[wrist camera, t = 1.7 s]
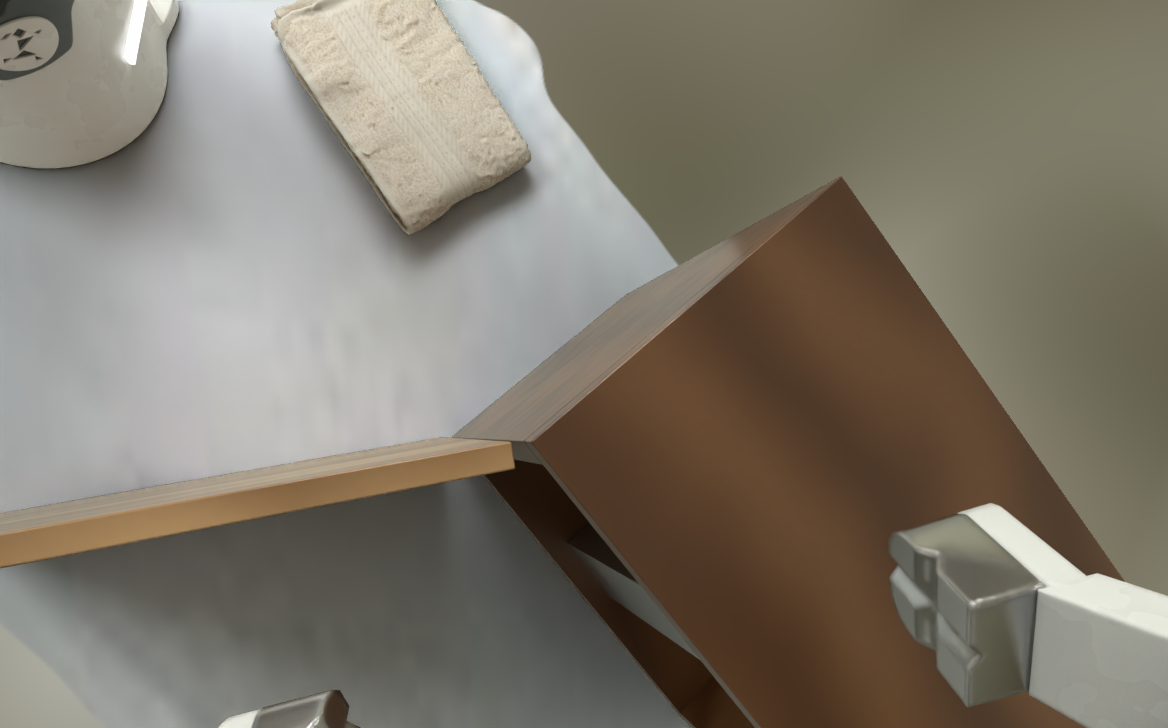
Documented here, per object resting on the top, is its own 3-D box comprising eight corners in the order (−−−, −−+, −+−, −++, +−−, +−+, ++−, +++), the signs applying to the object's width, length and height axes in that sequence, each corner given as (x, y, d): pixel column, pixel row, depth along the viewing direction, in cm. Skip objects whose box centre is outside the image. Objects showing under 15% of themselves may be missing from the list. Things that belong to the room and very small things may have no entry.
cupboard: (681, 717, 52) (964, 980, 27) (451, 437, 49) (530, 441, 24) (826, 557, 58) (1175, 652, 32) (626, 294, 54) (841, 175, 29)
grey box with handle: (566, 543, 50) (659, 596, 34) (652, 463, 52) (775, 477, 36) (611, 598, 50) (723, 676, 34) (693, 516, 53) (833, 553, 37)
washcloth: (401, -32, 51) (403, -60, 49) (535, 166, 53) (544, 150, 50) (260, 32, 48) (252, 6, 45) (407, 242, 50) (409, 230, 47)
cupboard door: (-47, 423, 40) (-720, 407, 16) (430, 358, 49) (486, 282, 24) (-34, 535, 40) (-700, 703, 15) (444, 450, 49) (516, 468, 24)
